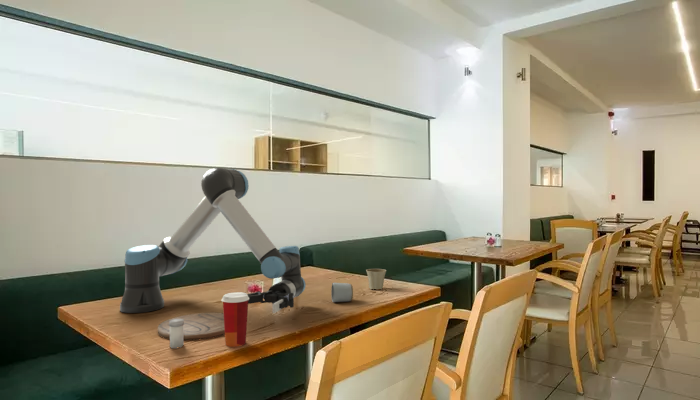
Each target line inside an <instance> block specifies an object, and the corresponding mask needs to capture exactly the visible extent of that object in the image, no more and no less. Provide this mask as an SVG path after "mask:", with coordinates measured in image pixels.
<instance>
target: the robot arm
mask: <svg viewBox="0 0 700 400" xmlns="http://www.w3.org/2000/svg"><path fill="white" fill-rule="evenodd" d="M200 184H201V185H200V186H201V190H202V193H203V195H204V197H203V198H202V199H201V200H200V202H198V204H197V206H196V207H195V208H194V209H193V210H192V211H191V213H190V214H189V215H188V216H187V217H186V219H185V220H184V221H183V222H182V223H181V225H180V226H179V227H178V228H177V230H176V231H175V232H174V233H173V234H172V235H171V236H167V237H165V238H164V239H163V240H162V242H161V243H160V244H159V245H156V244H143V245H137V246H133V247H130V248H128V249H127V250H126V251H125V258H124V279H125V280H124V283H125V285H124V292H123V295H122V299H121V301H120V304H119V311H120V312H121V313H124V314H125V313H126V314H139V313H140V314H141V313H148V312H153V311H157V310H161V309H162V308H164V306H165V299H164V297H163V295H162V294H163V293H162V291H161V288H160V277H163V276H167V275H172V274H175V273H177V272H180V271H181V270H182V269H184V267H186V266H187V263H188V261H189V260H188V257H189V255H190V254H191V253H190V249H191V248H192V247H193V245H194V244H195V243H196V242H197V241H198V240H199V238H200V237H201V236H202V235H203V233H204V232H205V231H206V230H207V229H208V227H209V226H210V225H211V224H212V222H214V220H215V219H216V218H217V217H218V216H219V214H220V213H221V214H222V215H223V216H224V218H225V219H226V220H227V221H228V223H229V224H230V226H231V227H232V228H233V229H234V231H235V232H236V233H237V235H238V236H239V237H240V239H242V241H243V242H244V244H245V245H246V247H248V249H249V250H250V251H251V252H252V254H253V255H254V256H255V258H256V259H257V260H258V262H259V264H261V265H260V270H261V273H262V275H263V276H264V277H265V278H267V279H270V280H271V279H272V280H273V279H278V278H280V277H281V278H280V279H281V280H280V281H279V282H277V283H275V284H273V285H271V286H270V287H269V289H268V290H267V291H262V292H261V291H255V292H250V293H247V295H248V297H249V300H248V305H249V304H257V303H261V304H266V303H269V304H270V303H271V305H272V308H271V309H272V314H275V313H277V312H279V311H281V310H283V309H284V308H285V309H286V308H288V307H290V308H294V305H295V304H294V303H295V300H294V298H297V297H299V296H300V295H301V294H302V293H303V292H304V291H305V290H306V281H305V279H304V277H303V276H302V271H301V254H300V248H299V246H297V245H287V246H281V247H280V248H279V250H278V249H277V247H276V246H275V245H274V243H273V242H272V241H271V239H270V238H269V237H268V236H267V234H266V233H265V232H264V231H263V229H262V228H261V227H260V226H259V224H258V223H257V221H255V219H254V218H253V216H252V214H250V213H249V211H248V210H247V209H246V208H245V206H244V205H243V204H242V202H241V201H240V200H239V199H242V198H243V197H245V196H246V194H247V193H248V191H249V180H248V178H247V176H246V174H245V173H243V172H242V171H240V170H237V169H235V168H231V169H230V168H224V167H212V168H210V169H208V170H207V171H206V172H205V173H204V174H203V176H202V178H201V182H200Z"/></svg>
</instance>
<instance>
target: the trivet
mask: <svg viewBox="0 0 700 400" xmlns="http://www.w3.org/2000/svg"><path fill="white" fill-rule="evenodd" d="M173 319H184V341H198V340H199V339H201V340H207V339H214V338H218V337H223V336H225V329H224V312H199V313H192V314H191V313H190V314H185V315H180V316H176V317H173V318H170V319H167V320H165V321H162V322H160V324H158V326H157V334H158V336H159V337H161V336H162V337H161V338H163V337H164V338H163V339H166V338H169V339H168V340H170V326H169V321H170V320H173ZM213 337H214V338H213ZM199 341H200V340H199Z"/></svg>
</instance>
